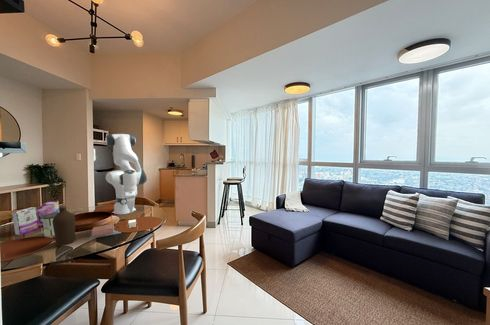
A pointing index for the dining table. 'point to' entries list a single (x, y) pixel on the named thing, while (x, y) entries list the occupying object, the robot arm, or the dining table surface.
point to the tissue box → (49, 224)
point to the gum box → (46, 210)
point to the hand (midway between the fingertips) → (131, 210)
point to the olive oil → (64, 227)
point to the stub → (132, 223)
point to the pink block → (103, 230)
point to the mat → (104, 235)
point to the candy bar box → (25, 220)
